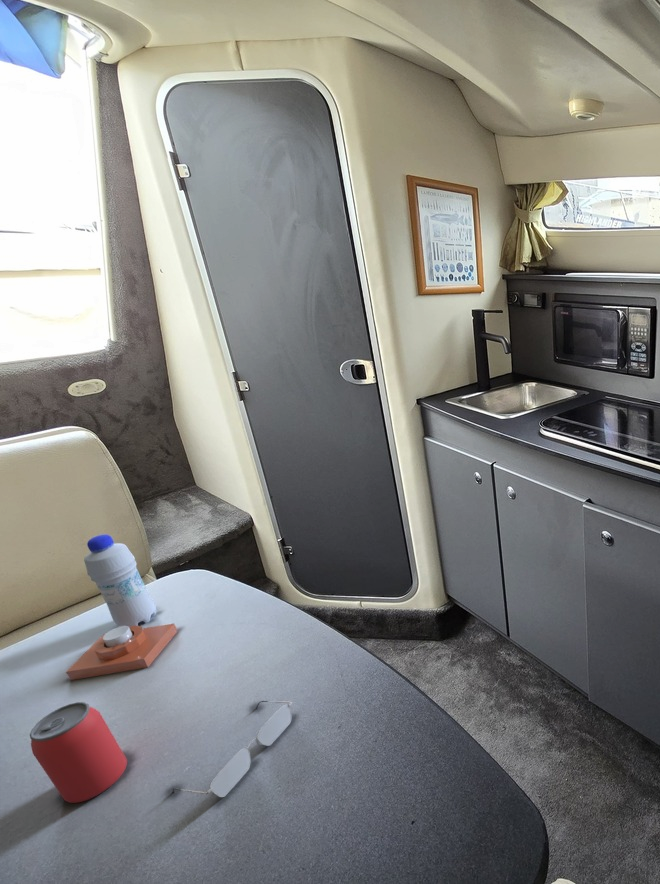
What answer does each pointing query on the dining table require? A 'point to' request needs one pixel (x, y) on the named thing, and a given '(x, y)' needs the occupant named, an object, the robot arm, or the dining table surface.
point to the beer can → (77, 752)
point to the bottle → (119, 581)
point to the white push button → (117, 636)
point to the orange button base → (123, 652)
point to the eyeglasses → (242, 759)
